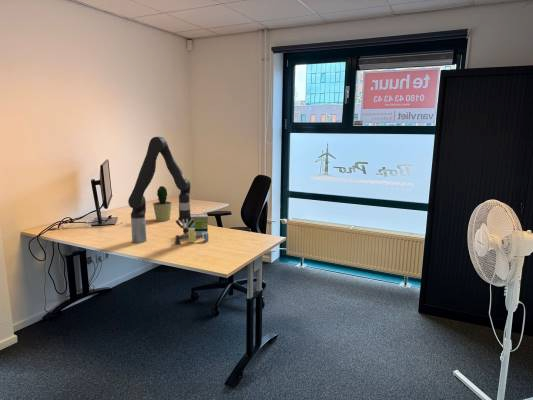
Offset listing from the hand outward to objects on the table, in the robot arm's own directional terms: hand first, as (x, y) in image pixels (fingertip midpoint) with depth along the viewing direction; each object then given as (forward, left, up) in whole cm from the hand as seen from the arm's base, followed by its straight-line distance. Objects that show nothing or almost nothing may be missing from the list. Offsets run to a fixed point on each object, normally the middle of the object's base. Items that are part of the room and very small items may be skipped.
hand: (185, 233), depth 255 cm
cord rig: (+5, 0, -7) cm, 8 cm away
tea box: (+11, +19, -7) cm, 23 cm away
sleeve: (+4, 0, -5) cm, 7 cm away
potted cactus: (-11, +73, -7) cm, 74 cm away
